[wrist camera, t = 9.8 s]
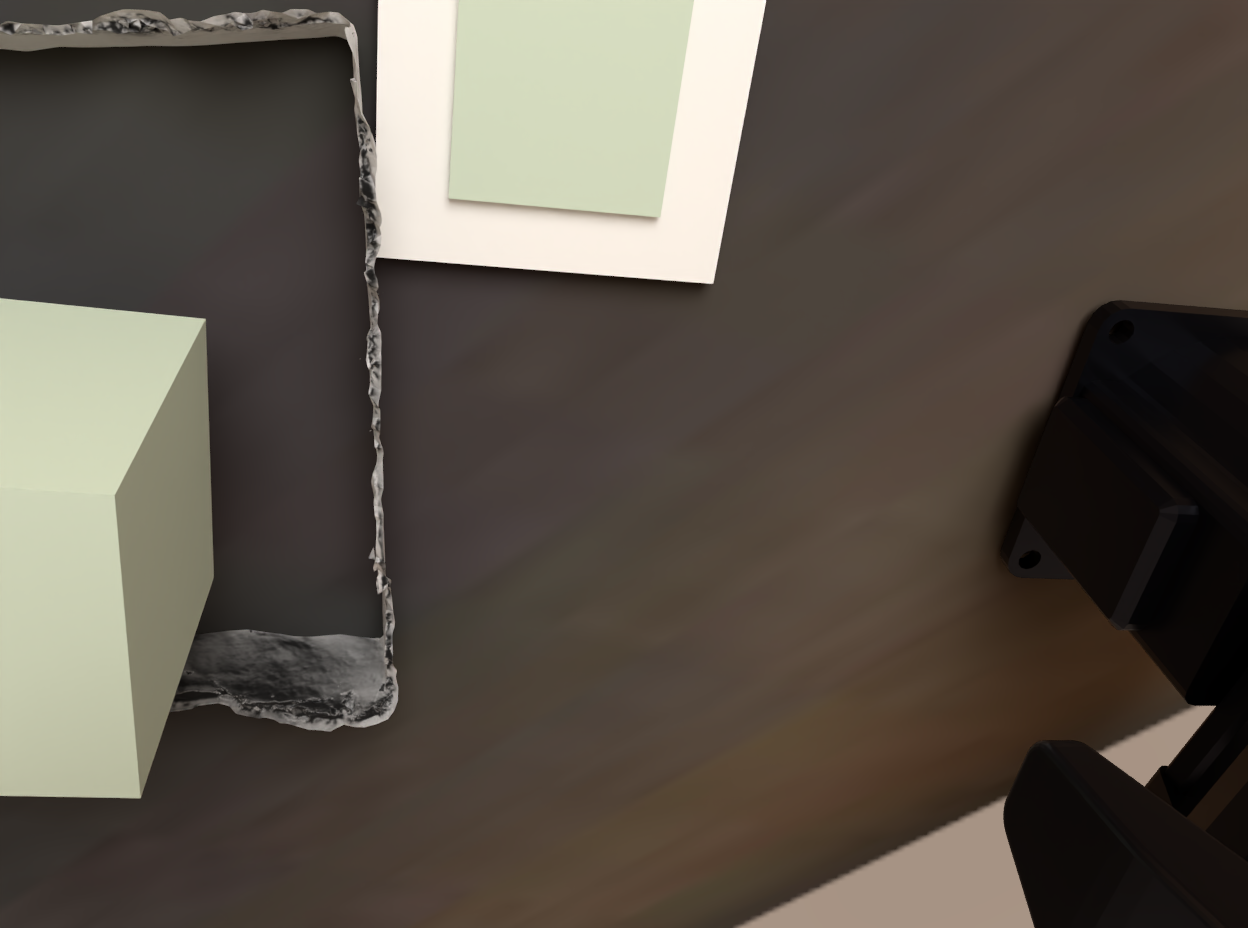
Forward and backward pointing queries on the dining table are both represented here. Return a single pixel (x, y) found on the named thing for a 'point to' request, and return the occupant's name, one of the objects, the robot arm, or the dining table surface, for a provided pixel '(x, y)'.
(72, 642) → the sage block
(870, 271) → the dining table surface
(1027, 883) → the robot arm
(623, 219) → the card
